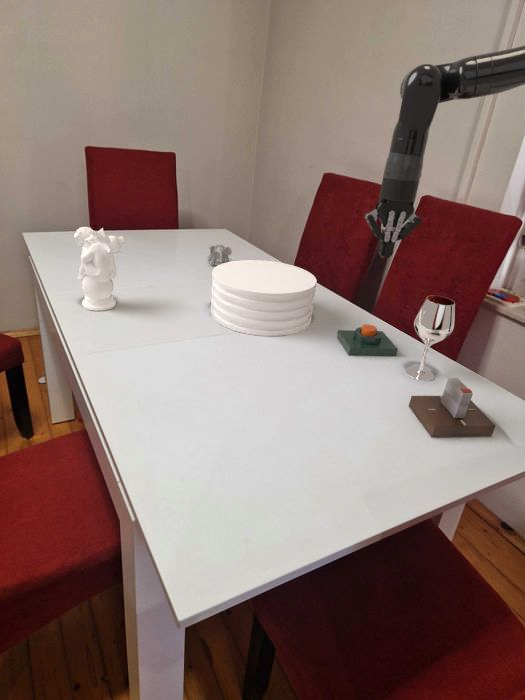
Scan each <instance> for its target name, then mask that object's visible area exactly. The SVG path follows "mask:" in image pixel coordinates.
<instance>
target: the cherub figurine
mask: <svg viewBox="0 0 525 700" xmlns="http://www.w3.org/2000/svg"><path fill="white" fill-rule="evenodd" d="M73 239H75V242H76V244H77V245H78V247H79V248H81V255H80V261H81V264H80V266H79V270H78V275H77V280H78V281H82V282H81V288H82V291H83V294H84V299H83V300H82V302H81V305H82V307H83V309H85V310H87V311H96V312H102V311H107V310H112V309H113V308H114V307H115V306H116V304H117V301H116V299H115V298H114V295H113V294H112V293H113V291H114V281H113V279H115V278H116V277H117V265H116V262H115V257H114V254H115V255H116V254H119V253H121V250H122V249H123V247H124V244H125V242H126V239H125V237H124V236H121V235H120V236H116V235H108V234H106V231H105V230H104V227H102V228H100V229H99V230H98V231H97V232H96V230H93V229H92V227H91V226H90V227H88V226H81V227H79V228H78V229H76V231H75V233H74V234H73Z"/></svg>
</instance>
